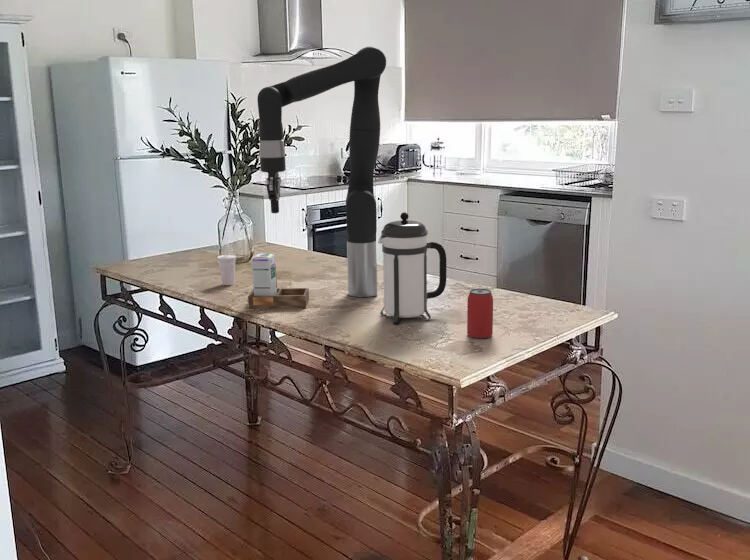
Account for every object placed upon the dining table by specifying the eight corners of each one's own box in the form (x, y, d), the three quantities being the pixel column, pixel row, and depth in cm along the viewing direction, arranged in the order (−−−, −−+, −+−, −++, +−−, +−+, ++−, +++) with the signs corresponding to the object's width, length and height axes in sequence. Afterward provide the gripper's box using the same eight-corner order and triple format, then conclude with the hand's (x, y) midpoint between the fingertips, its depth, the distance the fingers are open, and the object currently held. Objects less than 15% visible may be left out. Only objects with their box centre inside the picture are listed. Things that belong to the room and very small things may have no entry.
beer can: (491, 331, 201) (491, 287, 198) (493, 339, 194) (494, 294, 192) (466, 331, 201) (466, 287, 198) (468, 339, 195) (468, 294, 192)
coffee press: (421, 328, 205) (420, 218, 197) (369, 321, 212) (367, 214, 205) (447, 312, 219) (447, 209, 212) (397, 306, 227) (396, 206, 220)
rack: (309, 299, 235) (308, 287, 235) (305, 308, 226) (305, 295, 225) (254, 300, 236) (253, 288, 235) (248, 308, 227) (247, 296, 226)
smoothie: (217, 287, 254) (214, 245, 250) (220, 282, 260) (217, 242, 257) (236, 286, 254) (233, 245, 250) (239, 282, 260) (236, 241, 257)
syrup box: (272, 304, 228) (270, 257, 224) (253, 303, 229) (251, 256, 225) (278, 299, 233) (275, 253, 230) (259, 299, 234) (256, 252, 231)
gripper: (281, 157, 221) (284, 216, 225) (287, 153, 234) (290, 209, 238) (256, 157, 221) (259, 216, 225) (263, 154, 234) (266, 209, 238)
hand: (275, 212), depth 232 cm, fingers closed
